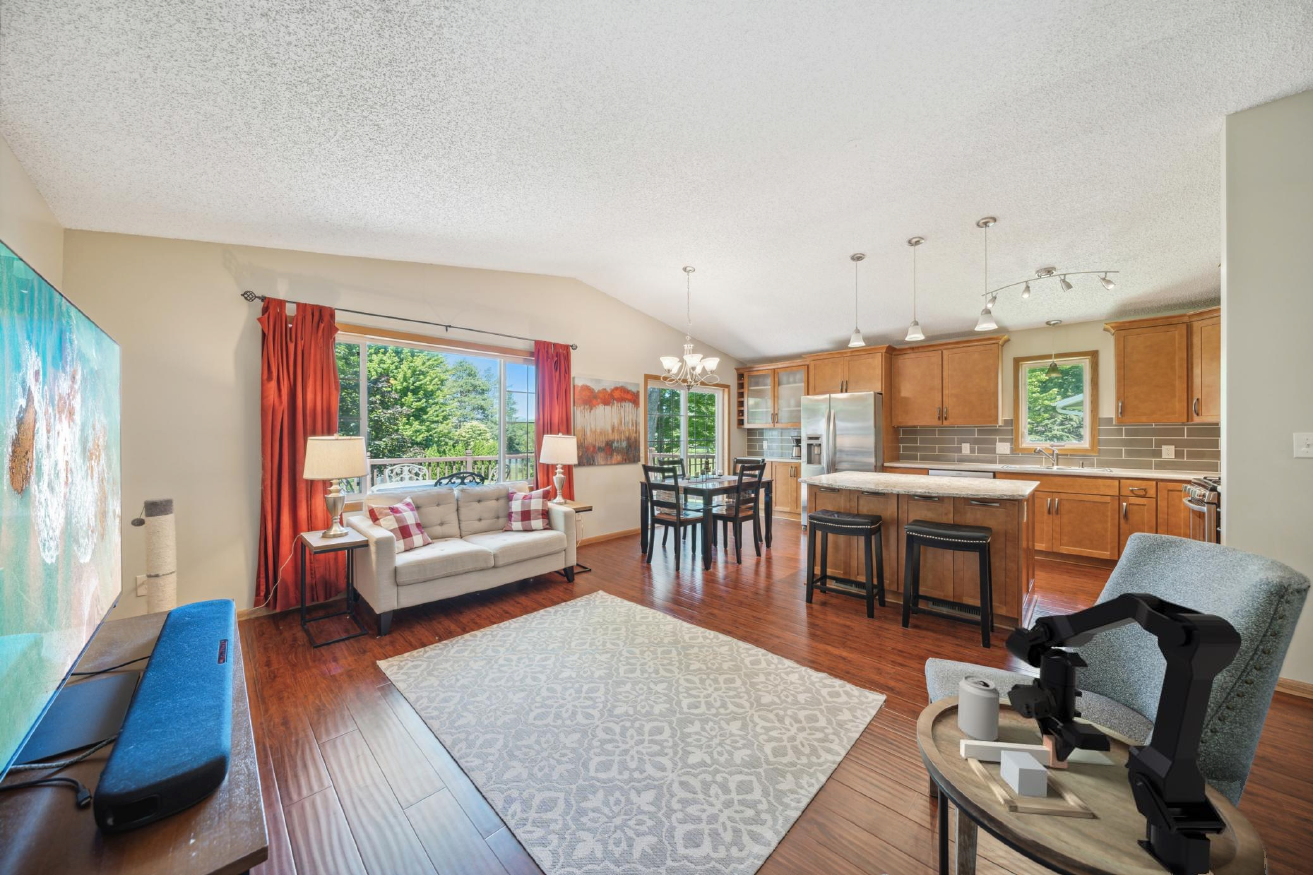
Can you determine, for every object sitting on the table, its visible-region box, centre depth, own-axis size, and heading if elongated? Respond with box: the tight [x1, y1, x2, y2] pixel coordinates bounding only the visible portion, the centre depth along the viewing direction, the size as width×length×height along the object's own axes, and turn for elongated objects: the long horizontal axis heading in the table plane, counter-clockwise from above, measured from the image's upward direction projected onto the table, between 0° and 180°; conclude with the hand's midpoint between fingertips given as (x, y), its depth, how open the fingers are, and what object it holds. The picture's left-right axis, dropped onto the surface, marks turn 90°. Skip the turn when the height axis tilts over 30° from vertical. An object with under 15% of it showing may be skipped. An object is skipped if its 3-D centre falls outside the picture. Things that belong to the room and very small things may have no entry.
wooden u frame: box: [967, 758, 1094, 819], centre depth 89 cm, size 12×14×1 cm
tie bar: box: [959, 735, 1068, 769], centre depth 97 cm, size 2×20×5 cm, turn 86°
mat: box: [1035, 732, 1115, 766], centre depth 102 cm, size 9×9×1 cm
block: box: [1000, 750, 1048, 798], centre depth 90 cm, size 5×5×5 cm
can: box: [957, 674, 1000, 742], centre depth 106 cm, size 8×8×12 cm
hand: (1054, 756), depth 96 cm, fingers closed on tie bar, 2 cm apart
